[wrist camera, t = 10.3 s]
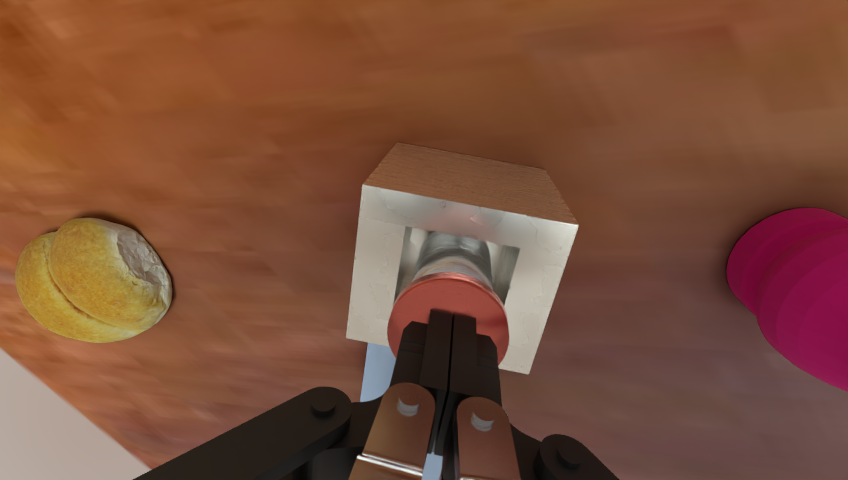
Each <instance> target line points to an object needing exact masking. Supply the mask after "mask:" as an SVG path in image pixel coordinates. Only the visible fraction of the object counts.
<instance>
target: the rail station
mask: <svg viewBox="0 0 848 480" xmlns="http://www.w3.org/2000/svg"><path fill="white" fill-rule="evenodd" d="M578 226H579V225H578V223H577V222H576V220H575V218H574V217H573V215H572V213H571V212H570V210H569V208H568V207H567V205H566V203H565V201H564V200H563V198H562V196H561V195H560V193H559V191H558V190H557V188H556V186H555V185H554V183H553V181H552V180H551V178H550V176H549V175H548V173H547V171H546V170H545V169H540V168H535V167H530V166H524V165H519V164H513V163H508V162H503V161H497V160H492V159H486V158H481V157H476V156H470V155H465V154H459V153H454V152H449V151H443V150H438V149H432V148H427V147H422V146H416V145H411V144H405V143H400V142H397V143H396V144H395V145H394V147H393V148H392V149H391V150H390V151H389V153H388V154H387V155H386V156H385V158H384V159H383V160H382V161H381V162H380V164H379V165H378V166H377V167H376V169H375V170H374V171H373V172H372V173H371V175H370V176H369V177H368V178H367V180H366V181H365V182H364V183H363V185H362V194H361V203H360V212H359V222H358V231H357V240H356V250H355V259H354V268H353V278H352V287H351V297H350V306H349V315H348V325H347V334H346V338H349V339H354V340H359V341H364V342H369V343H374V344H379V345H384V346H389V342H388V337H387V326H388V322H389V318H390V315H391V311H392V308H393V305H394V303H395V300H396V299H397V297H398V295H399V294H400V293H401V291H402V290H403V289H404V288H405V287H406V286H407V285H408V284H410V283H411V282H412V279H413V275H414V271H415V267H416V263H417V260H418V256H419V252H420V248H421V246H422V244H423V242H424V241H425V239H426V238H427V237H428V236H429V235H430V234H432V233H433V232H440V233H445V234H450V235H455V236H461V237H466V238H471V239H476V240H482V241H485V243H486V245H487V246H488V249H489V252H490V259H491V271H492V284H493V291H494V292H495V293H496V294H497V295H498V297H499V298H500V300H501V301H502V303H503V305H504V308H505V310H506V314H507V320H508V328H509V345H508V350H507V352H506V355H505V357H504V359H503V360H502V362H501V363H500V364H499V366H498V367H499V369H504V370H509V371H514V372H520V373H525V374H529V372H530V369H531V366H532V363H533V360H534V357H535V354H536V351H537V348H538V345H539V342H540V339H541V336H542V333H543V330H544V327H545V324H546V321H547V318H548V315H549V312H550V309H551V306H552V303H553V300H554V297H555V294H556V291H557V288H558V285H559V283H560V280H561V277H562V274H563V271H564V268H565V265H566V262H567V259H568V256H569V253H570V250H571V247H572V244H573V241H574V238H575V235H576V232H577V229H578ZM389 347H390V346H389Z"/></svg>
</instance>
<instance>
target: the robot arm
mask: <svg viewBox="0 0 848 480" xmlns="http://www.w3.org/2000/svg"><path fill="white" fill-rule="evenodd" d="M498 369H499V367H498V355H497V347H496V345H495V344H494V342H493V340H492V339H491V337H490V336H487V335H482V334H477V332H476V317H471V316H466V315H461V314H456V313H454V315H453V318H452V313H450V312H445V311H440V310H435V309H431V310H430V314H429V319H428V324H426V323H421V322H416V321H411V322H410V323H409V324H408V325H407V326H406V327H405V328H404V329H403V333H402V337H401V341H400V345H399V349H398V353H397V357H396V361H395V366H394V370H393V374H392V378H391V382H390V385H389V388H388V389H387V390H386V392H385V393H384V394H383V395H381V396H380V397H378V398H376V399H374V400H370V401H365V402H353V403H351V401H350V399H349V397H348V396H347V395H346V394H345V393H344V392H342V391H340V390H338V389H336V388H332V387H316V388H313V389H310V390H308V391H306V392H304V393H302V394H300V395H298V396H296V397H294V398H292V399H290V400H288V401H286V402H284V403H282V404H280V405H278V406H276V407H274V408H272V409H271V410H269V411H267V412H265V413H263V414H261V415H259V416H257V417H255V418H253V419H251V420H249V421H247V422H245V423H243V424H241V425H239V426H237V427H235V428H233V429H231V430H229V431H227V432H225V433H223V434H221V435H219V436H217V437H216V438H214V439H212V440H210V441H208V442H206V443H204V444H202V445H200V446H198V447H196V448H194V449H192V450H190V451H188V452H186V453H184V454H182V455H180V456H178V457H176V458H174V459H172V460H170V461H168V462H166V463H164V464H162V465H161V466H159V467H157V468H155V469H153V470H151V471H149V472H147V473H145V474H143V475H141V476H139V477H137V478H135V479H133V480H422V474H423V470H424V465H425V461H426V457H427V454H431V453H432V449H433V445H434V441H435V448H434V455H438V456H443V458H442V469H441V473H440V477H439V480H619V479H618V478H617V477H616V476H615V475H614V474H613V473H612V472H611V471H610V470H609V469H608V468H607V467H606V466H605V465H604V464H603V463H602V462H601V461H600V460H599V459H598V458H597V457H596V456H595V455H594V454H593V453H591V452H590V451H589V450H588V449H587V448H586V447H585V446H584V445H583V444H582V443H580V442H579V441H577V440H575V439H573V438H571V437H569V436H565V435H560V434H554V435H549V436H547V437H546V438H544V439H543V440H542V442H540V441H538V440H536V439H534V438H532V437H530V436H528V435H526V434H524V433H522V432H520V431H519V430H518V429H516V428H515V427H514V426H513V425H512V424H511V423H510V421H509V417H508V415H507V413H506V412H505V410H504V409H503V408H502V403H501V391H500V379H499V371H498Z"/></svg>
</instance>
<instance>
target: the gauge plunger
mask: <svg viewBox="0 0 848 480" xmlns="http://www.w3.org/2000/svg"><path fill="white" fill-rule="evenodd" d="M431 309H435V310H440V311H445V312H450V313H452V318H453V315H454V313H456V314H461V315H466V316H471V317H476V332H477V334H482V335H487V336H490V337H491V339H492V340H493V342H494V344H495V345H496V347H497V355H498V366H499V364H500V363H501V362H502V360H503V359H504V357H505V355H506V352H507V350H508V345H509V328H508V320H507V314H506V310H505V308H504V305H503V303H502V301H501V300H500V298H499V297H498V295H497V294H496V293H495V292H494V291H493V284H492V271H491V259H490V252H489V249H488V246H487V245H486V243H485V241H482V240H476V239H471V238H466V237H461V236H455V235H450V234H445V233H440V232H433V233H432V234H430V235H429V236H428V237H427V238H426V239H425V241H424V242H423V244H422V246H421V248H420V252H419V256H418V260H417V263H416V267H415V271H414V275H413V279H412V282H411V283H410V284H408V285H407V286H406V287H405V288H404V289H403V290H402V291H401V293H400V294H399V295H398V297H397V299H396V300H395V303H394V305H393V308H392V311H391V315H390V318H389V322H388V326H387V337H388V342H389V346H390V348H391V351H392V353H393V355H394V356H395V358H396V357H397V353H398V349H399V345H400V341H401V337H402V333H403V329H404V328H405V327H406V326H407V325H408V324H409V323H410V322H411V321H416V322H421V323H426V324H428V319H429V314H430V310H431Z"/></svg>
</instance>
